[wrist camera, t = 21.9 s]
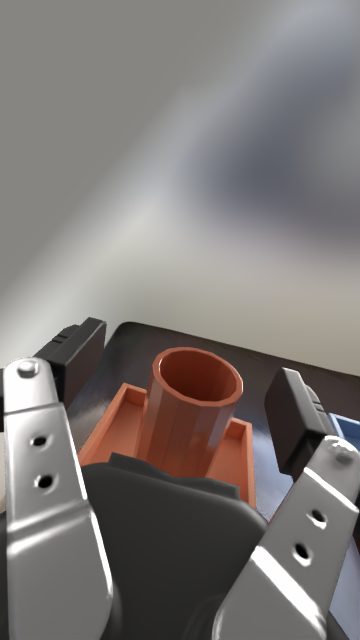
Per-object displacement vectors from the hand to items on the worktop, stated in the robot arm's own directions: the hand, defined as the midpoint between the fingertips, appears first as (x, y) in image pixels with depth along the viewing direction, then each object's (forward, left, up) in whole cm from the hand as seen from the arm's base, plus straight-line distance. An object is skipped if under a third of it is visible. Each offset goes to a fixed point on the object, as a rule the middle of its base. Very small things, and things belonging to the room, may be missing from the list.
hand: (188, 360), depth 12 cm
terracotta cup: (+1, +5, -15) cm, 16 cm away
